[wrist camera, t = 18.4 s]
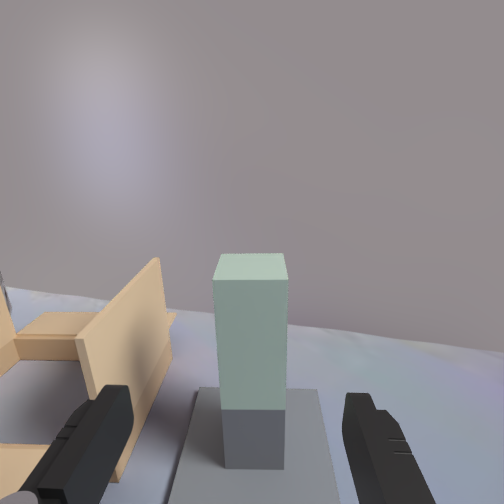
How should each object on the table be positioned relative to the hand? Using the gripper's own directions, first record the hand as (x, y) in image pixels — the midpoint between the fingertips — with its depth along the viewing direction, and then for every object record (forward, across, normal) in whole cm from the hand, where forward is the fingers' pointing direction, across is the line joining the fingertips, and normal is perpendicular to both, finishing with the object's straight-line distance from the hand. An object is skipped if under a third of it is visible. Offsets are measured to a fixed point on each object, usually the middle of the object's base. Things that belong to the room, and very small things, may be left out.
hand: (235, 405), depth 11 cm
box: (+10, 0, +15) cm, 18 cm away
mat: (+10, 0, +15) cm, 18 cm away
